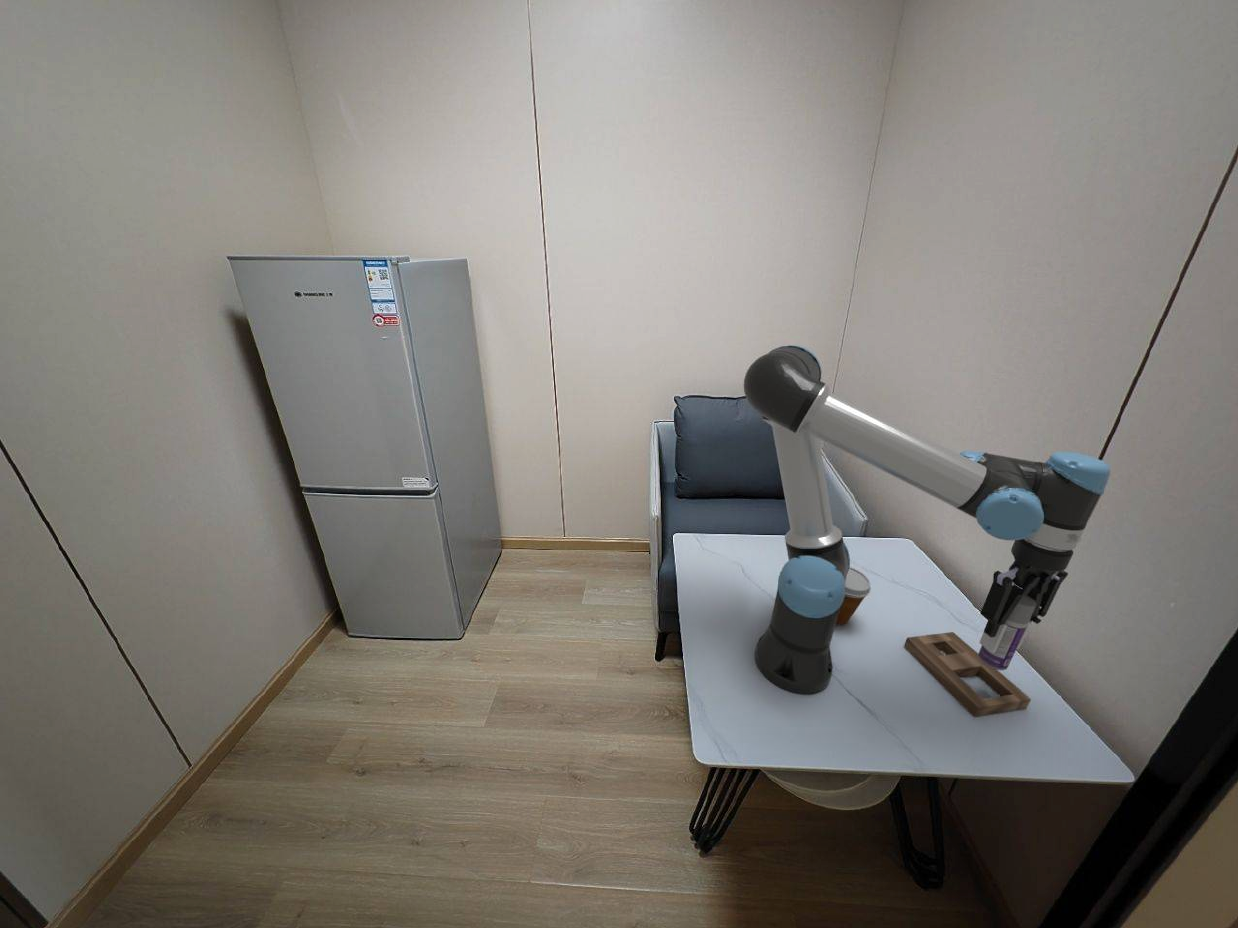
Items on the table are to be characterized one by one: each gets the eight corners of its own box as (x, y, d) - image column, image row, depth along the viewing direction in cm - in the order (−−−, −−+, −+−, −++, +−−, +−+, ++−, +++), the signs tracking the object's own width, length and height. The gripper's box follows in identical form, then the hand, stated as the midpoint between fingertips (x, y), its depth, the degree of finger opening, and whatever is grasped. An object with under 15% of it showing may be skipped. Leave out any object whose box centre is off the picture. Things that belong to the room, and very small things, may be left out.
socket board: (974, 717, 88) (978, 707, 87) (903, 646, 104) (907, 637, 103) (1026, 708, 90) (1031, 699, 89) (949, 640, 106) (953, 631, 105)
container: (997, 652, 92) (1025, 591, 87) (1013, 671, 88) (1044, 607, 82) (972, 650, 93) (998, 588, 87) (987, 669, 88) (1016, 605, 83)
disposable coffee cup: (811, 621, 110) (827, 582, 105) (814, 596, 118) (829, 558, 112) (855, 637, 107) (873, 598, 101) (855, 610, 115) (872, 572, 109)
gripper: (1024, 558, 75) (977, 667, 84) (1110, 549, 78) (1056, 654, 87) (982, 533, 82) (943, 637, 91) (1063, 526, 85) (1017, 626, 94)
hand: (998, 645), depth 89 cm, fingers closed on container, 5 cm apart
